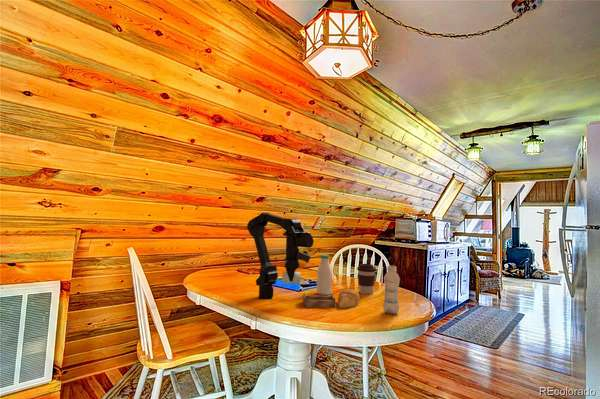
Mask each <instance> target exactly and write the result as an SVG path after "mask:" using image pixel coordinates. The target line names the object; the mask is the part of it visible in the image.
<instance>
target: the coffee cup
mask: <svg viewBox="0 0 600 399" xmlns="http://www.w3.org/2000/svg"><path fill="white" fill-rule="evenodd" d="M356 268H357V269H356V270H357V272H358V273H357V279H358V280H357V281H358V282H357V284H358V291H359V292H358V293H360V294H363V295H373V293H374V287H375V278H376V272H377V267H375V266H374V264H372V263H371V264H370V263H360V264H359V266H357V267H356Z"/></svg>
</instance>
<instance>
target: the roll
mask: <svg viewBox="0 0 600 399" xmlns="http://www.w3.org/2000/svg"><path fill="white" fill-rule="evenodd" d="M281 280H282V281H281V283H282V284H301V271H295V273H294V277H293V281H292V282H291V281H290V280H289V277H288V274H287V271H282V275H281Z"/></svg>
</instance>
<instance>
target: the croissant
mask: <svg viewBox="0 0 600 399" xmlns="http://www.w3.org/2000/svg"><path fill="white" fill-rule="evenodd" d="M359 293H360V292H358V291H357V290H355V289H353V288H349V289H348V288H347V289H344V290H341V292H339V293H338V298H337V299H338V308H341V309H344V308H345V309H347V308H355V307H357V306H358V305H359V303H360V299H361V298H360V296H361V295H360V294H359Z"/></svg>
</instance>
